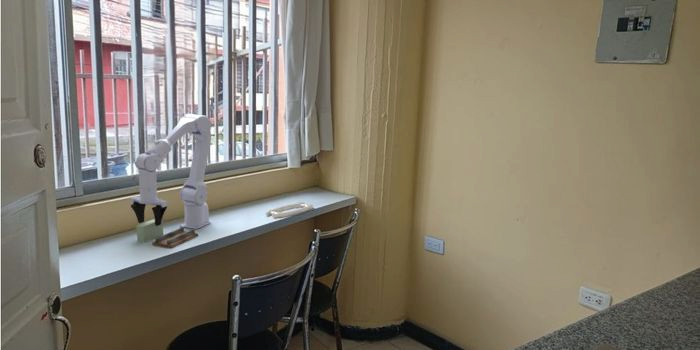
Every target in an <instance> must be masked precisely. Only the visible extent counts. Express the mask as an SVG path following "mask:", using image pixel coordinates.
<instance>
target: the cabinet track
mask: <svg viewBox="0 0 700 350" xmlns="http://www.w3.org/2000/svg"><path fill="white" fill-rule="evenodd" d="M198 236H199V233H198V232H196V229H193V228H191V229H190V230H188V231H186V230H185V227H179V228H177V229H175V230H173V231H170V232H168V233H165V234H163V235H161V236H158V237H156V238H154V241H152V242H151V244H152V246H156V247H161V248H169V249H173V248H175V247H177V246H179V245H181V244H184V243H185V242H188V241H190V240H192V239H194V238H197V237H198Z"/></svg>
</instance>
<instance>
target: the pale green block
mask: <svg viewBox="0 0 700 350" xmlns="http://www.w3.org/2000/svg"><path fill="white" fill-rule="evenodd" d="M162 235H164V221H163V218H162V222H161V225H159V226H156V225H155V218H153V219H150V220H148V221H144V222H142V223H138V224H137V225H136V241H137V242H139V241H140V242H139V243H146V242H148V241H150V240H153V239H155V238H158V237H160V236H162Z"/></svg>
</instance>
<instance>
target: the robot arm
mask: <svg viewBox="0 0 700 350" xmlns="http://www.w3.org/2000/svg"><path fill="white" fill-rule="evenodd" d="M211 128H212V121H211V120H210V118H209V117H208V116H207V115H204V114H201V115H200V114H193V113H186V114H183V116H182V117H181V118H180V119H179V121H178V124H176V125H175V127H174V128H173V129H172V130H171V131H170V132H169V133H168V134H167V135H166V136H165V138H164V139H163V138H160V139H156V140H155V141H154V144H153V145H152V146H150V147H149V148H148V149H146V150H145V152H144V153H140V154H139V155H138V156H137V158H136V159H135V161H134V165H135V167H136V168H137V172H138V180H139V181H138V182H139V196H132V197H130V208H131V210H133V212H134V214H135V215H136V217H135V218H136V219H137V223H138V224H142V223H144V222H145V210H146V205H147V206H148V205H149V206H154V207H152V208H151V210H152V213H153V215H154V216H153V217H154V219H155V225H156V226H159V225H161V222H162V219H163V217H164V214H165V212H166V210H167V208H168V201H167V200H163V199H160V198H158V186H157V185H158V184H157V183H158V182H157V169H159V167H160V165H161V162H162V160H163V159H164V158H165V157H167V155H169V153H171V152H172V146H173V145H174V144H175V143H177V141H179V140H180V139H181V138H182V137H184V136H185V135H186V134H188V133H190V134H191V135H192V136H193V137H194V139H195V144H194V149H193V155H192V161H191V164H190V165H191V166H190V172H189V177H188V178H187V179H186V180H185V181H184V182H183V186H182V187H181V189H180V191H179V198H180V199H181V200H182V202H183V205H184V209H183V211H184V223H182V224H180V225H179V226H180V227H179V228H182V227H184V228H187V229H195V230H198V229H200V228H202V227H205V226H207V225H210V224H211V221H210V218H209V217H210V214H209V212H210V211H209V210H210V209H209V206H208V204H207V202H206V201H207V199H208V192H207V190H208V186H207V184H206V183H205V181H204V179H205V173H206V168H207V161H208V156H209V153H210V152H209V150H210V147H211V146H210V145H211V142H212V141H211V140H212V133H211Z"/></svg>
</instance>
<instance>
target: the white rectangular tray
mask: <svg viewBox="0 0 700 350" xmlns="http://www.w3.org/2000/svg"><path fill="white" fill-rule="evenodd" d="M296 207H297V208H299V209H295V208H296ZM313 208H314V205H313V204H311V203H310V204H306V203H305V202H302V201H300V202H296V203H290V204H286V205H282V206H279V207H278V206H277V207H276V208H273V209H268V211H266V212H265V215H266V216H267V217H269V216H272V218H274V219H277V218H278V219H280V218H287V217H290V216H291V217H292V216H295V214H296V215H298V214H302V213H305V212H307V210H308V211H310V209H311V210H312V209H313ZM286 209H287V210H289V211H286ZM291 209H293V210H291ZM282 211H285V212H282Z"/></svg>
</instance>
